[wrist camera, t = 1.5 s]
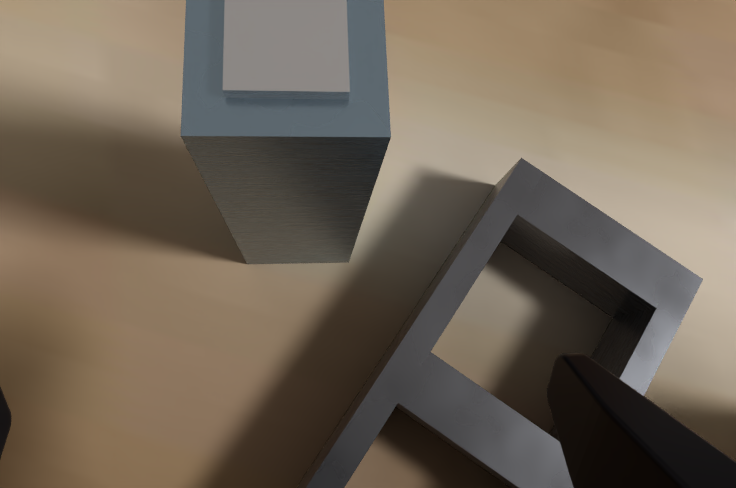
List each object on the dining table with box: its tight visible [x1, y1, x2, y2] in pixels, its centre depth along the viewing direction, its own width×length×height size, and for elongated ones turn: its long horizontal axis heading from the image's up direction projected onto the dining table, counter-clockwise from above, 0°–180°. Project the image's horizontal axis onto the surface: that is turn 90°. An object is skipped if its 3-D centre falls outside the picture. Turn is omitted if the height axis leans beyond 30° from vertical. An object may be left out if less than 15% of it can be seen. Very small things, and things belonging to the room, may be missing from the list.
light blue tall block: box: [181, 0, 391, 264], centre depth 17 cm, size 4×4×12 cm
